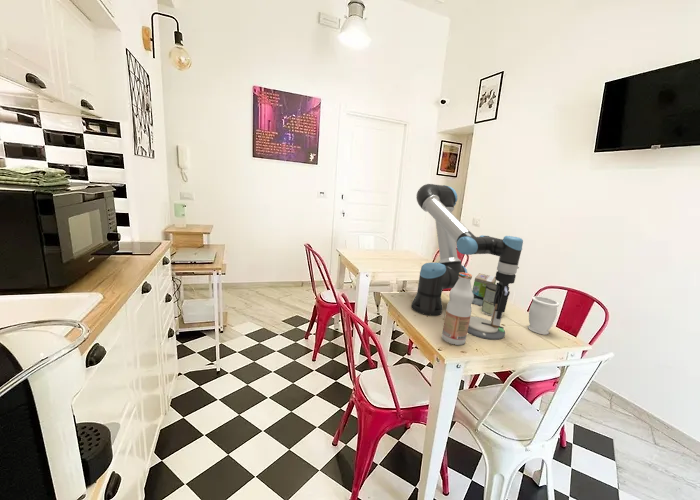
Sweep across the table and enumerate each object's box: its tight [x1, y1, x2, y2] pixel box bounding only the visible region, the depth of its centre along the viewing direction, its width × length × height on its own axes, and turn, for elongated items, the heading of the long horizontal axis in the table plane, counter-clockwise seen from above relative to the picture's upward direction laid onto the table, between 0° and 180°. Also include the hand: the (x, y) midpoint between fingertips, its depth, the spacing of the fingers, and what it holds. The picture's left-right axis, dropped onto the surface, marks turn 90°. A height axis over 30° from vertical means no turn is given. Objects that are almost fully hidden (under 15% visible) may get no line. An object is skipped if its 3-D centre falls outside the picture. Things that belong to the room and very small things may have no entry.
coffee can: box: [480, 283, 504, 317], centre depth 158 cm, size 10×10×14 cm
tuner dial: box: [469, 304, 505, 333], centre depth 137 cm, size 16×14×11 cm
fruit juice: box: [441, 272, 474, 346], centre depth 122 cm, size 9×9×28 cm
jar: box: [527, 295, 560, 336], centre depth 141 cm, size 11×10×15 cm
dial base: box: [467, 327, 506, 341], centre depth 138 cm, size 20×20×1 cm
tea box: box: [472, 273, 497, 307], centre depth 173 cm, size 15×10×15 cm
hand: (495, 323), depth 136 cm, fingers open, 3 cm apart
